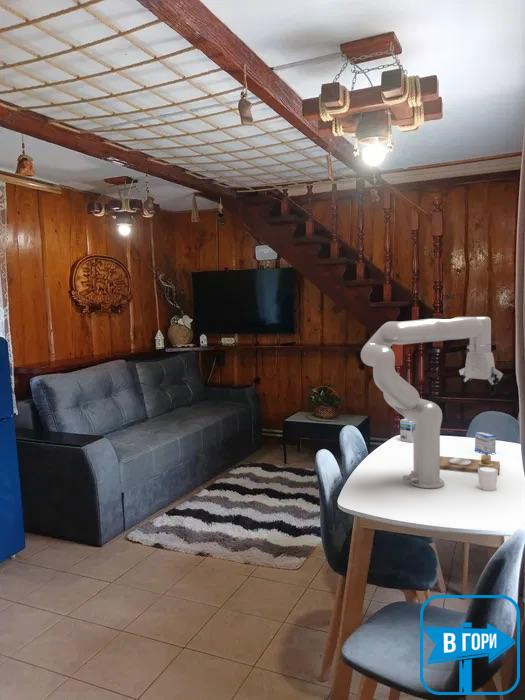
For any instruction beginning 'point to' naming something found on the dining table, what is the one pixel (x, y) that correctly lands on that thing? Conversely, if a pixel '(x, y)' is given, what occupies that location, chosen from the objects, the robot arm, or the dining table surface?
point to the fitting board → (467, 464)
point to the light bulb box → (407, 430)
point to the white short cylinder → (487, 478)
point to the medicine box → (485, 442)
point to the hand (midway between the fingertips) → (480, 393)
